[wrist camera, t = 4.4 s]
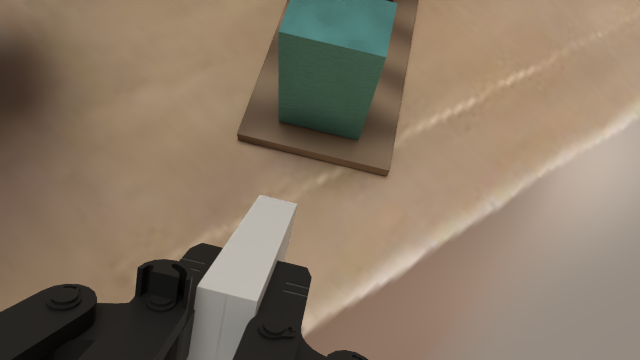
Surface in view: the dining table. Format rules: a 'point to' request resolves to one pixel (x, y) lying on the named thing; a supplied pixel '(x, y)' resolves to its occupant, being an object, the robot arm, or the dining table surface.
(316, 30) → the shaft
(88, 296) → the robot arm
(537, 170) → the dining table surface
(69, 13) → the dining table surface
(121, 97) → the dining table surface
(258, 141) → the walnut board
